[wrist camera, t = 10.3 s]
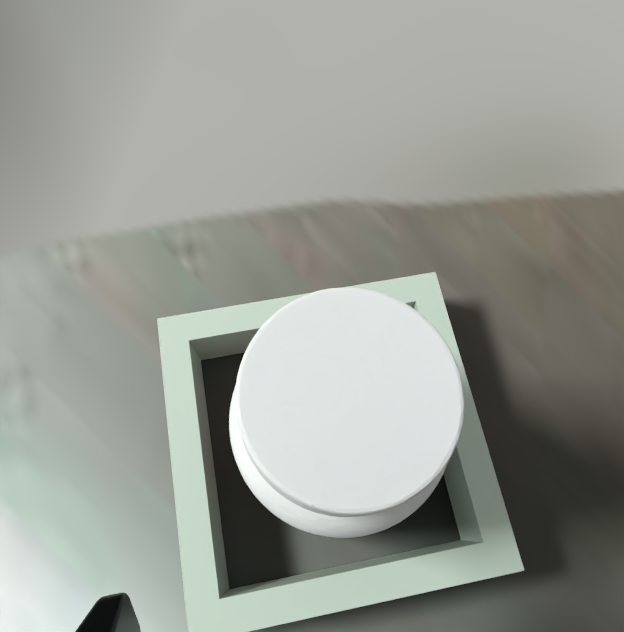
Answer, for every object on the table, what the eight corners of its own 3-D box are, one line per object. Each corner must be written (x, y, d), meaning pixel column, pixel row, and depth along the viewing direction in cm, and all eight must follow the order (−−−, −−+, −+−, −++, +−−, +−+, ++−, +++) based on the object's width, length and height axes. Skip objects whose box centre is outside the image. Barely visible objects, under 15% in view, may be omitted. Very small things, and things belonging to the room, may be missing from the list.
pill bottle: (279, 357, 21) (265, 230, 12) (419, 399, 21) (516, 302, 12) (228, 504, 19) (165, 487, 10) (382, 555, 19) (463, 586, 10)
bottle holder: (496, 564, 19) (524, 570, 17) (203, 628, 18) (189, 644, 16) (421, 298, 22) (435, 272, 20) (172, 340, 22) (156, 318, 19)
